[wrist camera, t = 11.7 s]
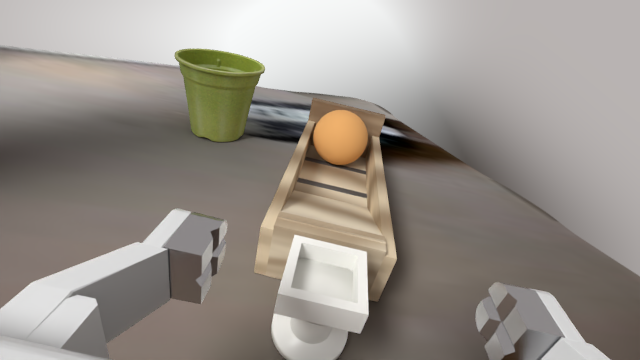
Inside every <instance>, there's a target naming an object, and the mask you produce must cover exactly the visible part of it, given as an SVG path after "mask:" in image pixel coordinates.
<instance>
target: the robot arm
mask: <svg viewBox="0 0 640 360" xmlns="http://www.w3.org/2000/svg"><path fill="white" fill-rule="evenodd" d="M226 232H227V221H226V220H223V219H219V218H215V217H211V216H207V215H203V214H199V213H195V212H190V211H186V210H182V209H178V208H176V209H174V210H172V211H171V212H170V213H169V214H168V215H167V216H166V217H165V219H164V220H163V221H162V222H161V223H160V224H159V225H158V226H157V227H156V228H155V230H154V231H153V232H152V233H151V234H150V235H149V236H148V237H147V238H146V239H145V240H144V242H143V243H139V242H136V243H133V244H130V245H128V246H125V247H123V248H120V249H117V250H115V251H112V252H110V253H107V254H105V255H102V256H99V257H97V258H94V259H92V260H89V261H86V262H84V263H81V264H79V265H76V266H73V267H71V268H68V269H66V270H63V271H60V272H58V273H55V274H53V275H50V276H47V277H45V278H42V279H40V280H37V281H34V282H32V283H31V284H29V285H28V286H27V287H26V288H25V289H23V290H22V291H21V292H20V293H19V294H18V295H16V296H15V297H14V298H13V299H12V300H10V301H9V302H8V303H7V304H6V305H5V306H3V307H2V308H1V309H0V360H111V359H110V358H109V354H108V349H107V345H106V344H107V343H108V342H110V341H111V340H112V339H114V338H115V337H117V336H118V335H120V334H121V333H123V332H124V331H126V330H127V329H129V328H130V327H131V326H133V325H134V324H136V323H137V322H139V321H140V320H142V319H143V318H145V317H146V316H148V315H149V314H150V313H152V312H153V311H155V310H156V309H158V308H159V307H161V306H162V305H164V304H165V303H167V302H168V301H169V300H170V298H172V299H177V300H182V301H188V302H193V303H198V304H201V303H202V301H203V299H204V297H205V295H206V294H207V292H208V290H209V288H210V286H211V277H212V276H213V275H215V274H217V273H218V271H219V269H220V267H221V264H222V261H223V258H224V254H225V249H226V242H225V240H224V239H223V237H224V236H225V234H226ZM488 291H489V295H490V296H489V297H487V298H485V299H483V300H481V302H480V303H479V305H478V307H477V309H476V316H475V318H476V325H477V328H478V331H479V333H480V334H481V335H482V336H483V337H484V338H485V339H486V340H487V342H486V344H485V349H486V352H487V354H488V357H489V360H611V359H609V358H608V357H607V356H606V355H604V354H603V353H602V352H601V351H599V350H598V349H597V348H596V347H594V346H593V345H592V344H588V343H586V342H585V341H584V339H583V338H582V336H581V335H580V334H579V332H578V331H577V329H576V328H575V326H574V325H573V323H572V322H571V320H570V319H569V318H568V316H567V315H566V313H565V312H564V310H563V309H562V307H561V306H560V305H559V303H558V302H557V300H556V299H555V297H554V296H553V295H551V294H550V293H549V292H545V291H540V290H535V289H528V288H524V287H519V286H515V285H510V284H506V283H501V282H496V283H494V284H492V286H491V287H490V288H489V290H488Z"/></svg>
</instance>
